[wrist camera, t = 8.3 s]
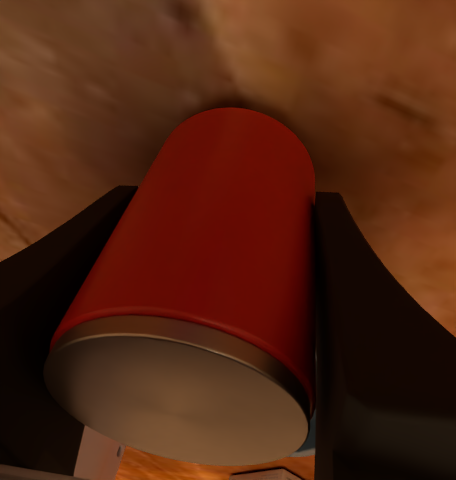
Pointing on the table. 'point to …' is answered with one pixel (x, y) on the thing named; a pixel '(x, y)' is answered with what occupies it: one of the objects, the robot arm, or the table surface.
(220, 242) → the tin can
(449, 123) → the table surface
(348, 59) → the table surface
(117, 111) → the table surface
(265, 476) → the light bulb box
